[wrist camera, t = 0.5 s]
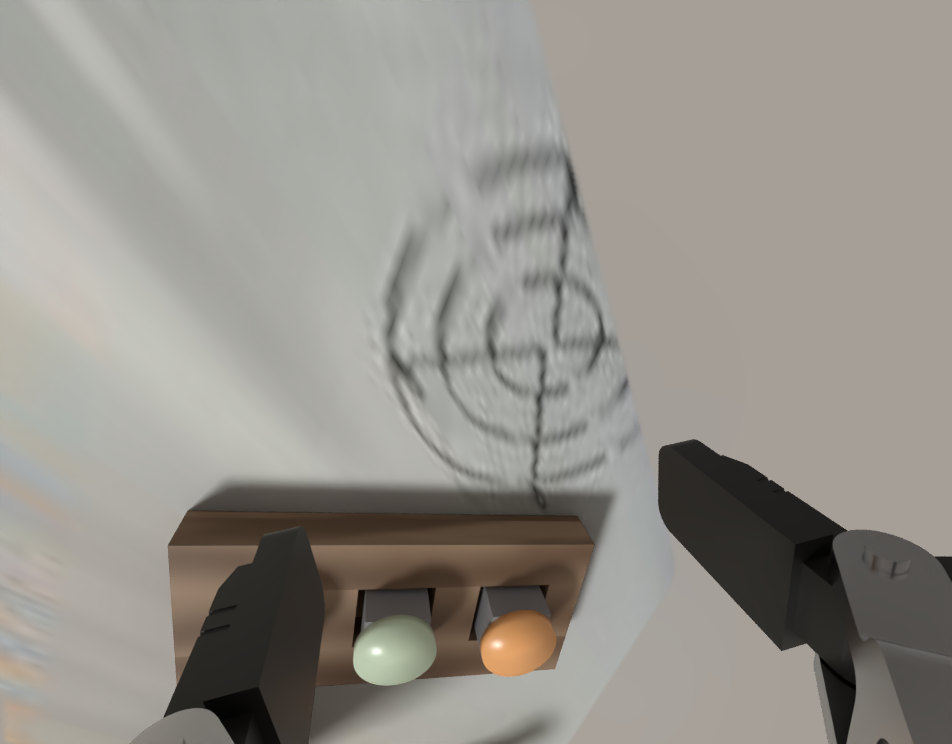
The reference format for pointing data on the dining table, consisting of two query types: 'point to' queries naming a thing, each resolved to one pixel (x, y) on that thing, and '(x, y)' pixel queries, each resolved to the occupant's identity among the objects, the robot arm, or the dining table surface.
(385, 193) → the dining table surface
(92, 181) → the dining table surface
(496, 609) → the button orange
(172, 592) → the console
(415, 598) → the button sage
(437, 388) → the dining table surface
